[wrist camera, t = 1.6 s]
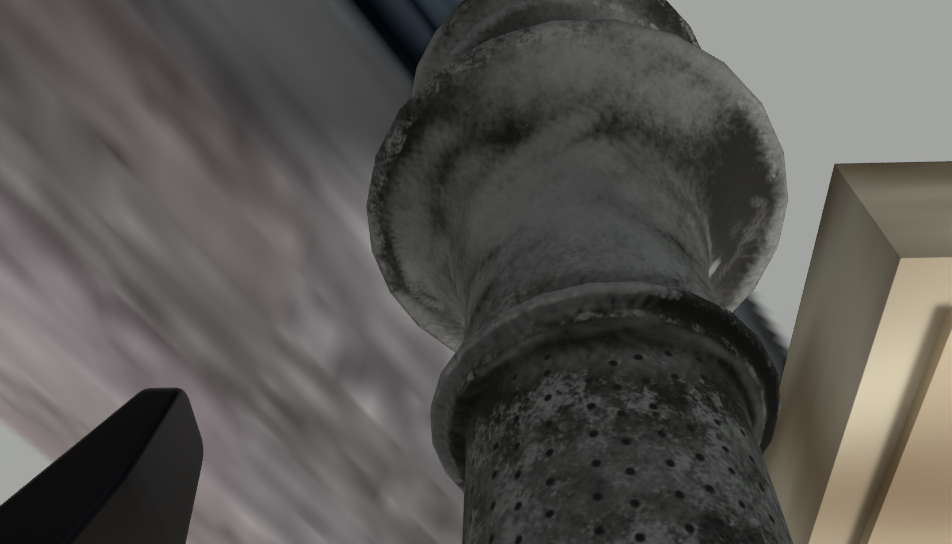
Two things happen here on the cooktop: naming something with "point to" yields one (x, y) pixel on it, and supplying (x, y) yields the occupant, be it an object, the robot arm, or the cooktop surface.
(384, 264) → the salt shaker
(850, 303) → the soap dish
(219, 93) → the cooktop surface
